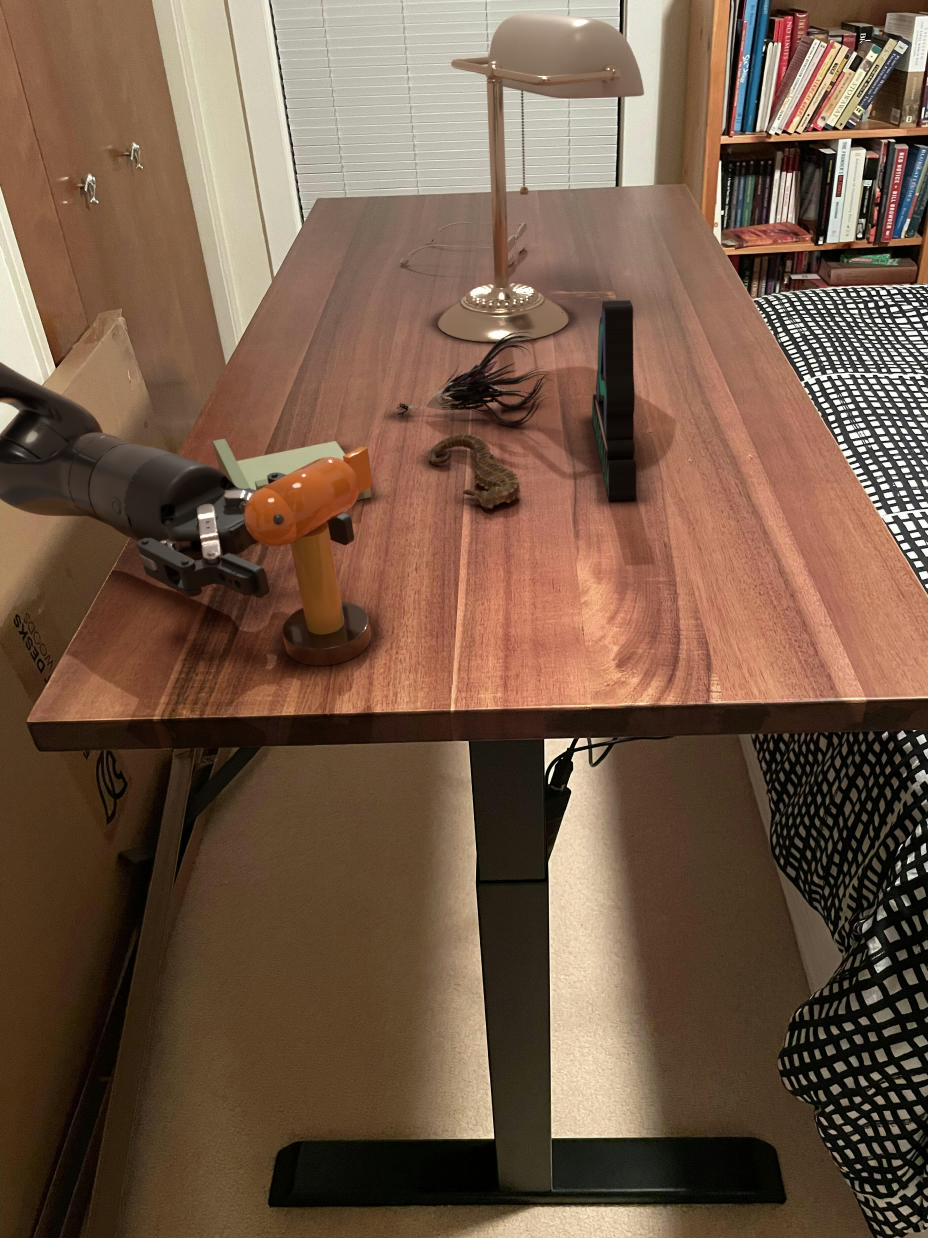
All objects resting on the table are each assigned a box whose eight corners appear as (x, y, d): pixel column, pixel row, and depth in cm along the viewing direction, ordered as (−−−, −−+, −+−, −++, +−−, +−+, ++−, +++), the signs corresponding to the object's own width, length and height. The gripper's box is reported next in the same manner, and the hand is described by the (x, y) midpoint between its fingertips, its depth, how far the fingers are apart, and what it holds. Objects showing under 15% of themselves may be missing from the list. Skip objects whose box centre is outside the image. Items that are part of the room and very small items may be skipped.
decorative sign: (635, 501, 89) (644, 336, 79) (608, 502, 89) (614, 337, 79) (614, 419, 104) (619, 272, 94) (591, 420, 104) (594, 273, 94)
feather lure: (559, 422, 100) (538, 343, 95) (399, 458, 105) (371, 385, 100) (565, 391, 107) (546, 315, 102) (414, 426, 112) (389, 356, 107)
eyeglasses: (507, 270, 151) (506, 243, 148) (397, 266, 155) (394, 240, 152) (528, 245, 163) (528, 219, 160) (426, 242, 166) (424, 217, 164)
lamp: (651, 328, 127) (669, 15, 106) (482, 361, 119) (466, 31, 98) (558, 279, 146) (557, 6, 125) (407, 305, 138) (380, 19, 117)
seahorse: (473, 441, 99) (471, 424, 98) (534, 502, 89) (532, 484, 88) (424, 457, 98) (420, 440, 97) (480, 520, 87) (477, 502, 86)
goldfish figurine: (356, 589, 78) (331, 430, 70) (416, 613, 75) (398, 450, 67) (253, 656, 71) (212, 488, 63) (315, 686, 68) (280, 514, 60)
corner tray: (245, 525, 87) (237, 490, 85) (220, 473, 96) (212, 440, 94) (371, 497, 91) (367, 462, 89) (337, 449, 100) (332, 417, 98)
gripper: (241, 507, 83) (381, 559, 75) (100, 581, 74) (243, 649, 66) (222, 424, 79) (370, 470, 71) (70, 492, 70) (219, 554, 62)
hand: (308, 557), depth 69 cm, fingers open, 8 cm apart
